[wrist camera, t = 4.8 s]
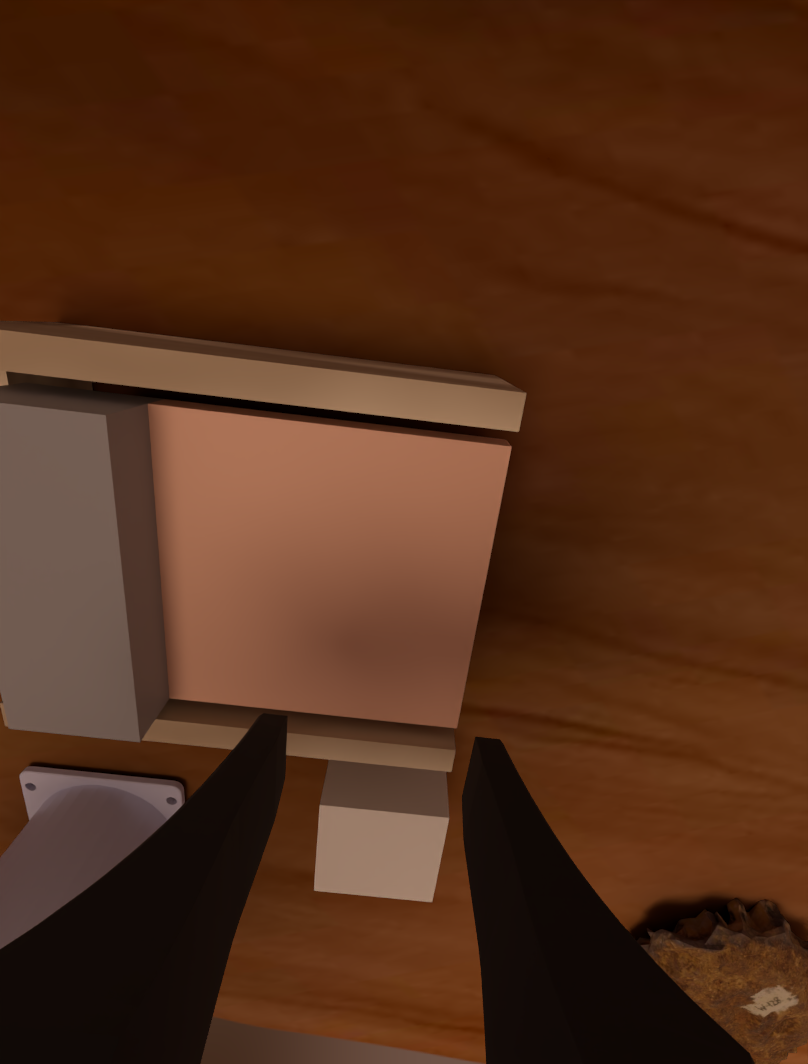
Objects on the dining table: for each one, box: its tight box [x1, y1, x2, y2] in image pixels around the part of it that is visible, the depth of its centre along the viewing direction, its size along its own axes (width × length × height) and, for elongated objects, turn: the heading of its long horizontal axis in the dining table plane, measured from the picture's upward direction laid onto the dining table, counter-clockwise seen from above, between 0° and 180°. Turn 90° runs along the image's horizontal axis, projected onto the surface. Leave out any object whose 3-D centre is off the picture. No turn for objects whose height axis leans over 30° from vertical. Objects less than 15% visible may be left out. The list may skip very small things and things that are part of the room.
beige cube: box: [314, 760, 449, 902], centre depth 23 cm, size 5×5×5 cm
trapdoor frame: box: [0, 321, 526, 772], centre depth 18 cm, size 13×16×6 cm
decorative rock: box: [637, 898, 808, 1064], centre depth 29 cm, size 11×4×15 cm
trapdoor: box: [0, 383, 512, 742], centre depth 15 cm, size 10×14×3 cm
